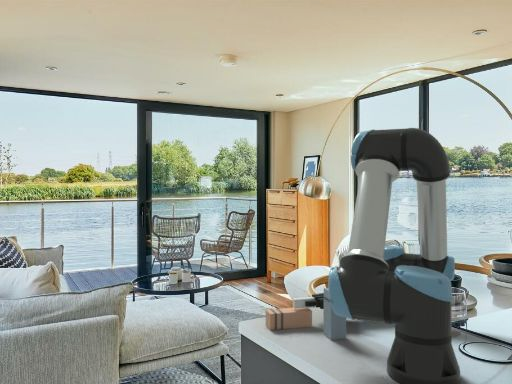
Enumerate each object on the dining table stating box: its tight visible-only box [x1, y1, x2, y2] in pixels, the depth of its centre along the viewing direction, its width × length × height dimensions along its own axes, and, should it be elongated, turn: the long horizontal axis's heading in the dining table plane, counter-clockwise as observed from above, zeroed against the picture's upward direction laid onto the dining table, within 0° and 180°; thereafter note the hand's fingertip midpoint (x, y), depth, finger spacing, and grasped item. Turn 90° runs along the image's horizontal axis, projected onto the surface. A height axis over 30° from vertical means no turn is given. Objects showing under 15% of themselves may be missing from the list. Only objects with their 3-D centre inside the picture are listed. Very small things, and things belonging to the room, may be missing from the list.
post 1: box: [265, 307, 313, 331], centre depth 129 cm, size 5×5×13 cm
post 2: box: [323, 287, 347, 341], centre depth 120 cm, size 5×5×13 cm
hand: (293, 303), depth 130 cm, fingers closed
